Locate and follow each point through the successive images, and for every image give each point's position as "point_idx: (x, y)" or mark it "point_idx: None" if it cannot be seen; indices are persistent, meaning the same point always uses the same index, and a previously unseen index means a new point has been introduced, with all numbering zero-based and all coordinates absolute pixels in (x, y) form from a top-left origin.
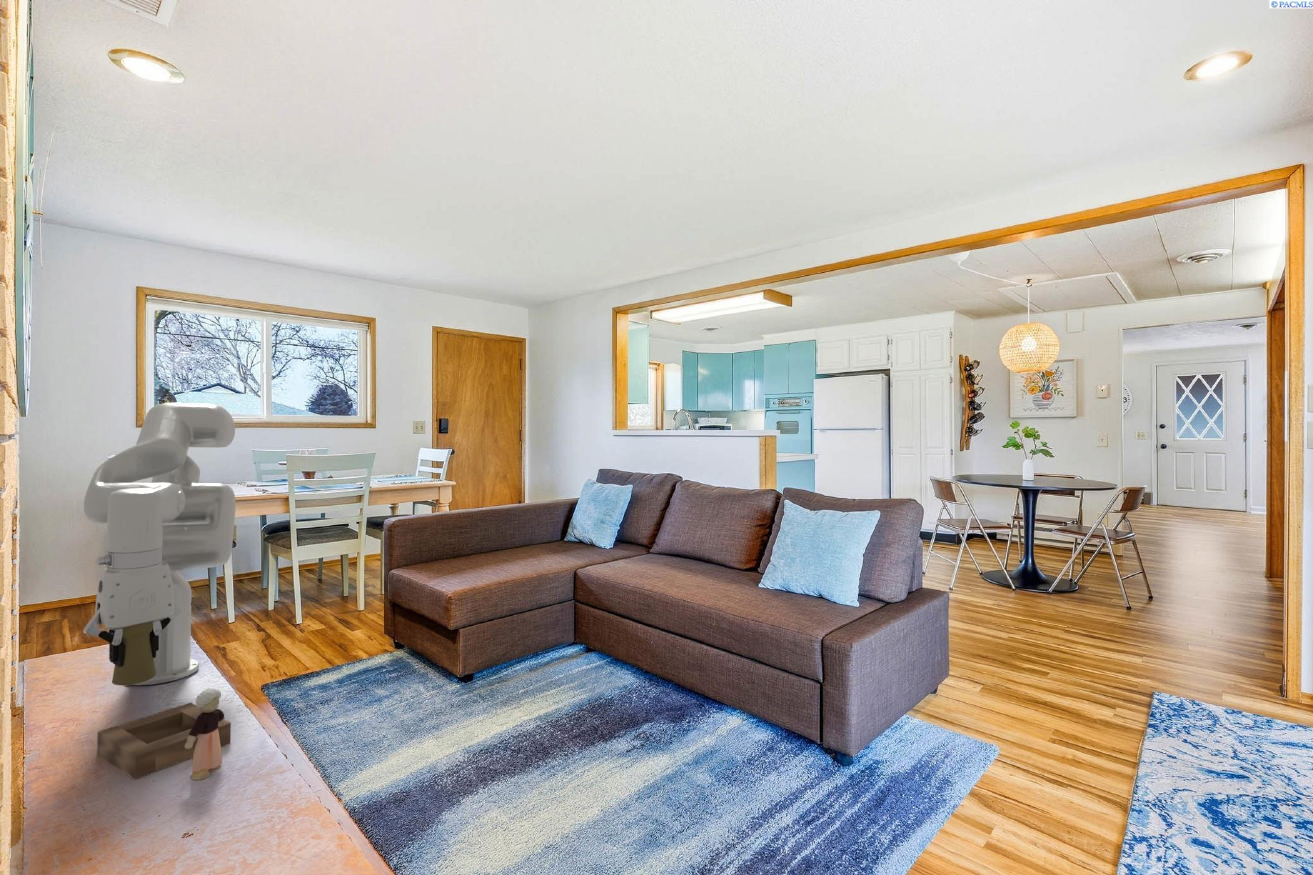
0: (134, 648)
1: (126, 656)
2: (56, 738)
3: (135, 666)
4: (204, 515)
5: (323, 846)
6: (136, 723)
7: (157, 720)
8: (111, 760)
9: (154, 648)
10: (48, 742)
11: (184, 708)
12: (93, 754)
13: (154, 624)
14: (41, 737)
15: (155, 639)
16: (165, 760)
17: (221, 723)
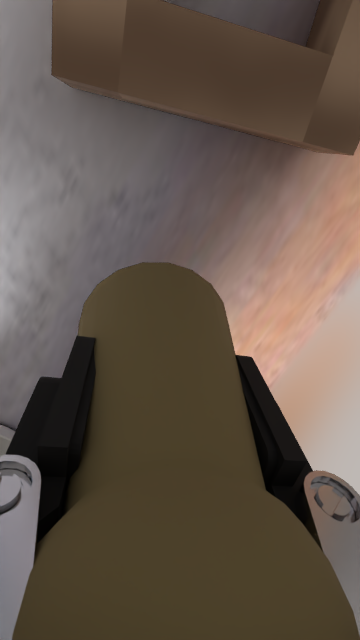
0: (217, 397)
1: (237, 382)
2: (271, 332)
3: (200, 313)
4: None
5: None
6: (272, 84)
7: (224, 23)
8: None
9: (76, 370)
10: (290, 327)
11: (100, 28)
12: (323, 155)
13: (1, 609)
14: (275, 361)
15: (54, 419)
16: None
17: None
